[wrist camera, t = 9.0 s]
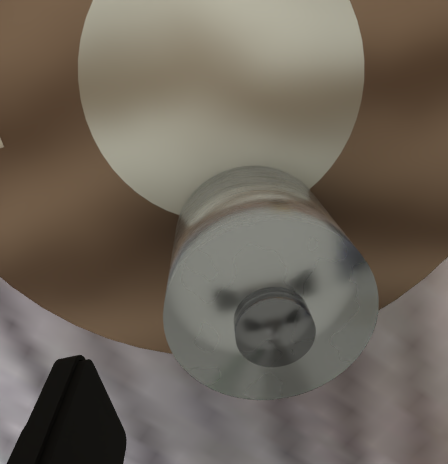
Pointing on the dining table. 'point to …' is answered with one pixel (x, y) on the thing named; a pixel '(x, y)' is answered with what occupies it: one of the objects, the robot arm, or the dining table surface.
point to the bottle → (265, 288)
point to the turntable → (211, 137)
